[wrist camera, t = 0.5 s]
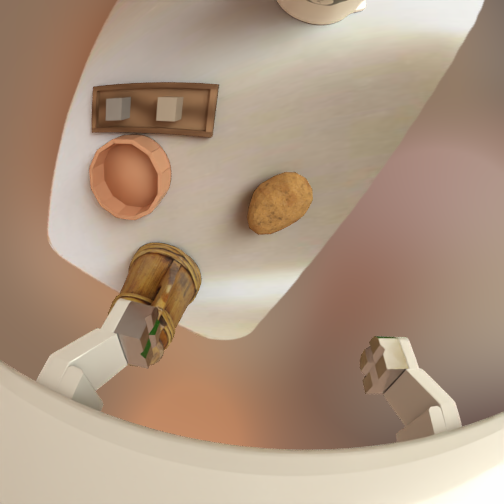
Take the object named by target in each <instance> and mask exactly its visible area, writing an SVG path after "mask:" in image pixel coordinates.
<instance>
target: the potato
mask: <svg viewBox="0 0 504 504" xmlns="http://www.w3.org/2000/svg"><path fill="white" fill-rule="evenodd" d="M312 200H313V197H312V188H311V186H310V184H309V183H308V181H307V179H306V178H304V177H303V176H301V175H299V174H297V173H296V172H284V173H282V174H279V175H276V176H274V177H272V178H270V179H269V180H267V181H265V182H263V183H262V184H260V185H259V186H258V188H257V189H256V190H255V191H254V193H253V196H252V199H251V202H250V205H249V208H248V215H247V219H248V224H249V228H250V229H251V230H253V231H254V232H256V233H257V234H258V235H259V234H272V233H274V232H277V231H279V230H282V229H284V228H286V227H287V226H289V225H291V224H293V223H294V222H296V221H297V220H299V219H300V218H301V217H302V216H304V214H305V213H306V211H307V210H308V208H309V206H310V204H311V202H312Z"/></svg>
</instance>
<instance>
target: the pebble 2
mask: <svg viewBox="0 0 504 504" xmlns="http://www.w3.org/2000/svg"><path fill="white" fill-rule="evenodd" d="M182 106H183V97H168V96H165V97H158V103H157V116H156V121H178V120H181V117H182Z"/></svg>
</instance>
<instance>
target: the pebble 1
mask: <svg viewBox="0 0 504 504" xmlns="http://www.w3.org/2000/svg"><path fill="white" fill-rule="evenodd" d="M130 105H131V97H117V98H109V99H106V121H113V120H124V119H128V118H130Z"/></svg>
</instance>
